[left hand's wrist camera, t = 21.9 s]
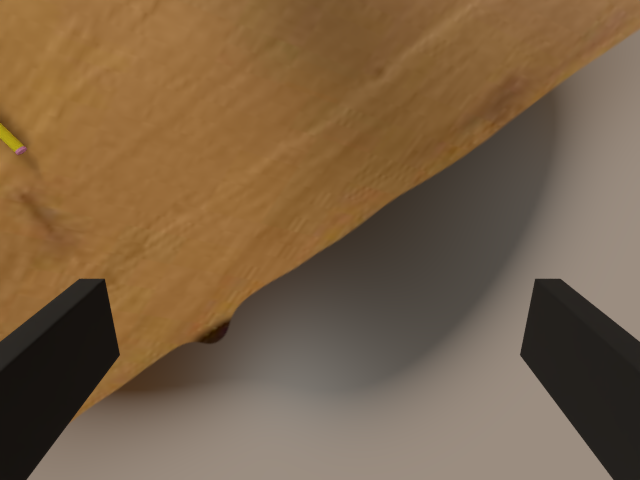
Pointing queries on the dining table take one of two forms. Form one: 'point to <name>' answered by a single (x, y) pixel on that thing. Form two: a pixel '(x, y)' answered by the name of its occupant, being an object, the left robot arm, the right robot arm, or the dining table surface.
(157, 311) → the dining table surface
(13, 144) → the pencil
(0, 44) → the dining table surface
